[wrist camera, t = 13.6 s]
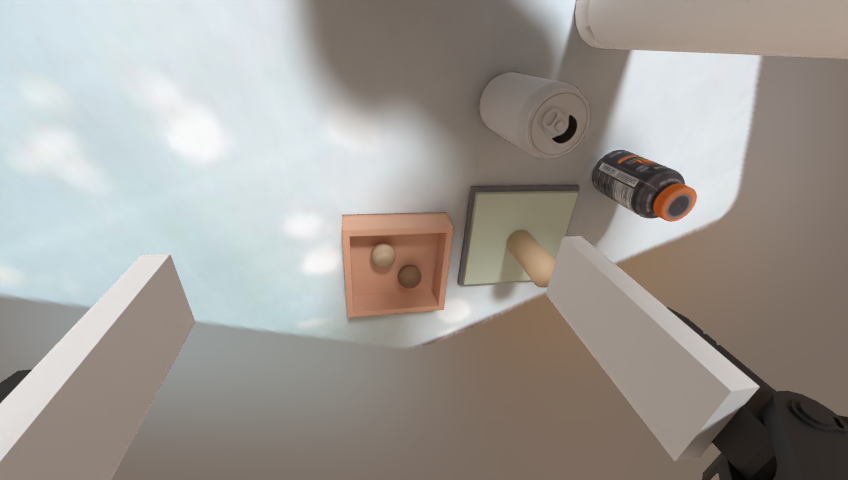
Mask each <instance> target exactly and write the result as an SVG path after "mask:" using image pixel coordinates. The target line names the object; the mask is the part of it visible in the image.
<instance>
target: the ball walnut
mask: <svg viewBox="0 0 848 480" xmlns="http://www.w3.org/2000/svg"><path fill="white" fill-rule="evenodd" d="M397 277H398V282H399V283H400V285H401V286H403V287H404V288H408V289H411V288H415V287H416V286H417V285H418V284H419V283H420V281H421V272H420V270H419V269H418V268H417V267H416V266H414V265H405V266H403V267H402V268H401V269H400V270H399V272H398V276H397Z"/></svg>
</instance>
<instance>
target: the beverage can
mask: <svg viewBox="0 0 848 480" xmlns="http://www.w3.org/2000/svg"><path fill="white" fill-rule="evenodd" d="M479 109H480V115H481V119H482V121H483V122H484V124H485V125H486V126H487V127H488V128H489V129H490V130H492V131H493V132H495V133H496V134H498V135H499V136H501V137H502V138H504V139H506V140H507V141H509V142H510V143H512V144H513V145H515V146H517V147H518V148H520V149H521V150H523V151H524V152H526V153H527V154H529V155H531V156H533V157H536V158H558V157H562V156H564V155H566V154H568V153H569V152H571V151H572V150H573V149H575V148H576V147H577V146H578V145H579V144H580V142H581V141H582V140H583V138H584V137H585V135H586V133H587V130H588V128H589V124H590V119H591V111H590V106H589V103H588V101H587V99H586V97H585V96H584V95H583V94H582V93H581V92H580V91H579V90H578V89H577V88H576V87H575V86H573V85H572V84H569V83H566V82H561V81H556V80H551V79H546V78H541V77H536V76H531V75H526V74H521V73H516V72H506V73H503V74H500V75H498V76H496V77H495V78H494V79H492V80H491V81H490V82H489V83H488V85H487V86H486V87H485V89H484V91H483V93H482V95H481V99H480V106H479Z"/></svg>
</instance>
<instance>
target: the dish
mask: <svg viewBox="0 0 848 480" xmlns="http://www.w3.org/2000/svg"><path fill="white" fill-rule="evenodd" d="M453 228H454V226H453V225H452V223H451V221H450V219H449V218H448V216H447V214H446V212H435V213H396V214H357V215H342V240H343V256H344V271H345V287H346V302H347V318H350V317H362V316H374V315H386V314H398V313H409V312H421V311H433V310H444V302H445V294H446V286H447V277H448V269H449V261H450V253H451V244H452V236H453ZM380 243H386V244H389V245H391V246H392V247H393V248H394V250H395V252H396V259H395V262H394V263H393V264H392V265H391V266H390V267H388V268H378V267H376V266H375V265H374V264H373V263H372V261H371V257H370V255H371V251H372V249H373V248H374V247H375V246H376V245H378V244H380ZM405 265H414V266H416V267H417V268H418V269H419V270H420V272H421V281H420V283H419V284H418V285H417V286H416V287H415V288H411V289H408V288H404V287H403V286H401V285H400V283H399V282H398V277H397V276H398V272H399V270H400V269H401V268H402V267H403V266H405Z"/></svg>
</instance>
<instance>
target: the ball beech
mask: <svg viewBox="0 0 848 480" xmlns="http://www.w3.org/2000/svg"><path fill="white" fill-rule="evenodd" d="M370 257H371V261H372V263H373V264H374V265H375V266H376V267H378V268H388V267H390V266H391V265H392V264H393V263H394V262H395V259H396V252H395V250H394V248H393V247H392V246H391V245H389V244H386V243H380V244H378V245H376V246H375V247H374V248H373V249H372V251H371V255H370Z"/></svg>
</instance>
